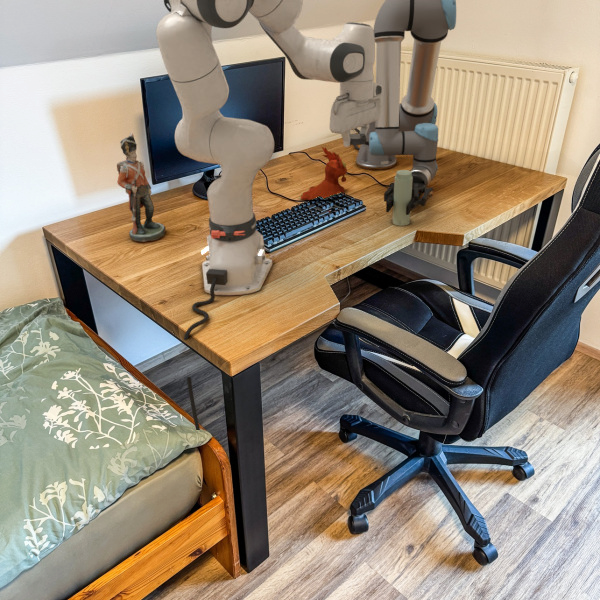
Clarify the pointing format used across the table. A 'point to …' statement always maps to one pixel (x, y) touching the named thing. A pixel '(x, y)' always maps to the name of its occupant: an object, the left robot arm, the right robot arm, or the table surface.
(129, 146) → the figurine
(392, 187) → the right robot arm
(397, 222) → the jar
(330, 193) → the toy
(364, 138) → the lid
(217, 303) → the table surface
